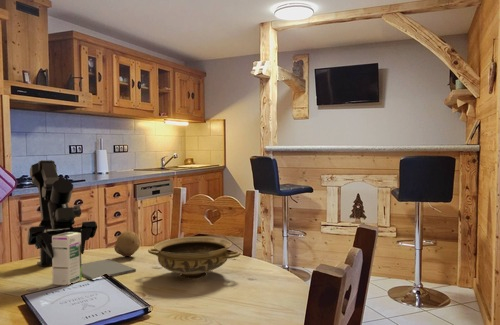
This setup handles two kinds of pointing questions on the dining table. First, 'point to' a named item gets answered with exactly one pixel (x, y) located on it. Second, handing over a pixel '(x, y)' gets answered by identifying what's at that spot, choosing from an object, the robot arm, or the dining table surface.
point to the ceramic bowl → (193, 255)
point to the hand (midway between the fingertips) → (68, 255)
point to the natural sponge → (127, 243)
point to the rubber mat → (104, 268)
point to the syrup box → (66, 258)
